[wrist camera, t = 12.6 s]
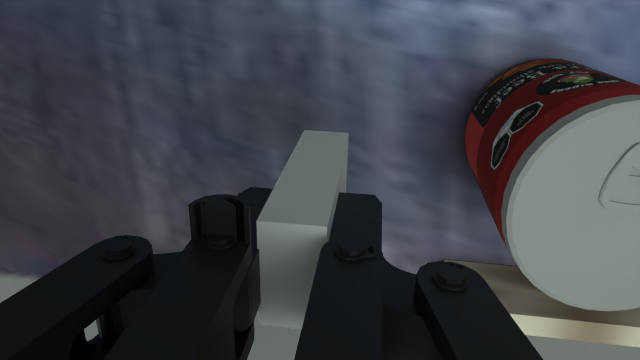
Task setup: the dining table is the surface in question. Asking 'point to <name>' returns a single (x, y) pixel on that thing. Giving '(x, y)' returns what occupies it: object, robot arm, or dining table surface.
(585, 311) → the box
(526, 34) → the dining table surface
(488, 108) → the canned food
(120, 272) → the robot arm
